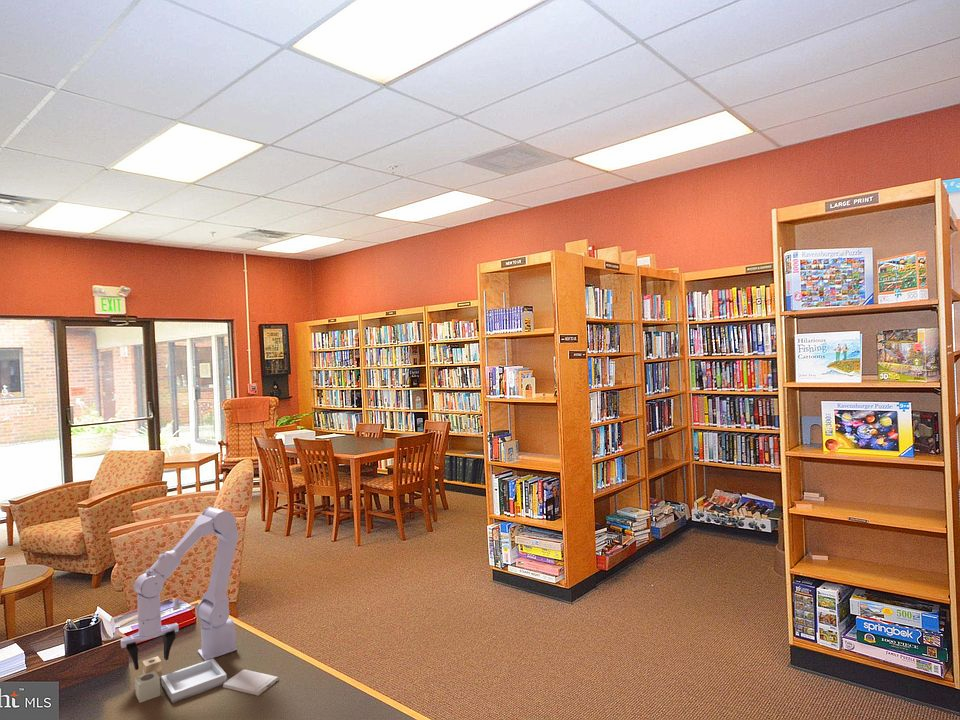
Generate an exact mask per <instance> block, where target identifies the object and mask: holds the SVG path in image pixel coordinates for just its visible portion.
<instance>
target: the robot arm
mask: <svg viewBox="0 0 960 720" xmlns="http://www.w3.org/2000/svg"><path fill="white" fill-rule="evenodd" d="M236 521H237V518H236V517H235V515H234V514H233V513H232V512H231V511H230V510H229V511H228V510H224V509H221V508H217V506H208V507H207V508H205V509H204V510H203V511H202V513H201V514H199V515H198V516H196V519H195V522H194V523H193V524H192V526H191V527H190V528H189V529H188V530H187V532H186V533H185V534H184V535H183V536H182V537H181V538H180V540H179V541H178V542H177V543H176V545H175V546H174V547H173V548H172V549H171V550H168V551H167V550H166V551H165V552H163V553H160V554H159V555H158V556H157V558H158V559H157V560H156V561H155V562H154V563H153V565H151V567H150V568H147V569H146V570H145V572H144V573H143V574H140V575H139V576H138V577H137V578H136V579H135V581H134V584H133V585H132V589H133V592H135V593H136V595H137V597H136V598H137V605H136V606H137V624H138V625H137V626H138V627H137V629H138V631H137V632H135V633H133V634H131V635H128V636H126V637H123V638H120V647H121V649H123V648H126V650H127V652H128V653H129V655H130V657H131V659H132V663H133V667H134V670H135V671H138V670H139V669H140V668H139V660H138V659H139V658H138V655H139V648H138V645H137V643H140V642H144V641H148V640H151V639H155V638H158V637H162V641H163V659H164V660H165V661H168V660H169V656H170V652H171V648H172V645H173V643H174V641H175V640H176V636H177V635H176V633H177V632H179V629H180V628H179V624H178V623H177V622H175V623H171V624H170V623H169V624H165V625H162V615H161V613H162V611H161V595H160V593H161V592H162V591H163V588H164V584H165V582H166V581H167V580H168V579H169V578H170V576H171V575H172V574H174V572H175V571H176V570H177V569H178V567H179V566H180V565H181V564H182V557H183V556H184V555H185V554H186V553H188V551H189V550H190V549H191V548H192V547H193V546H195V544H197V543H198V541H199V540H200V539H202V537H204V536H210V535H214V534H215V536H216V537H217V538H218V543H217V547H216V552H215V555H214V556H215V557H214V561H213V566H212V569H211V574H210V579H209V584H208V588H207V590H206V591H205V593H203V595H202V596H201V600H200V602H199V604H198V605H197V607H196V610H195V612H196V616H197V618H199V619H200V639H201V640H200V641H201V648H200V649H198V650H197V653H198V654H199V655H200V656H201V658H202V660H204V661H207V660H210V659H215V658H218V657H221V656H223V655H226V654H229V653H232V652H235V651H237V650H238V648H237V643H236V641H237V638H236V627H235V623H234V620H233V618H229V617H230V609H229V604H230V599H229V596H228V594H227V590H228V586H229V580H230V576H231V573H232V567H233V561H234V558H235V552H236V548H237V544H238V541H239V540H238V539H239V530H238V527H237V524H236V523H237V522H236Z"/></svg>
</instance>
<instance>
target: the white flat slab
mask: <svg viewBox="0 0 960 720" xmlns="http://www.w3.org/2000/svg"><path fill="white" fill-rule="evenodd" d="M279 680H280V678H279V676H275V675H272V674H267V673H262V672H258V671H254V670H249V669H245V668H244V669H242V670H240V671H239V672H238V673H236V674H234V675H233V676H232V677H230V678H229V679H227V681H226V682H225V683H224V684H223V685H222V688H225V689H228V690H232V691H233V690H234V691H237V692H241V693H246V694H251V695H255V696H260V695H261V694H262V693H263V692H265V691H266V690H268V689H269V688H270V687H271V686H272V685H274V684H275V683H277V682H278V681H279ZM276 681H277V682H276Z"/></svg>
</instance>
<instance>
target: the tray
mask: <svg viewBox="0 0 960 720" xmlns="http://www.w3.org/2000/svg"><path fill="white" fill-rule="evenodd" d="M226 681H228V676H227V673H226V672H225V671H224V669H223V668H222V667H221V666H220V665H219V663H218V662H217V661H216V660H215V658H212V659H209V660H206V661H205V660H204V661H201V662H198V663H196V664H193V665H190V666H186V667H184V668H181V669H178V670H175V671H172V672H169V673H167V674H164V675H163V674H162V676H161V679H160V685H161V686H162V688H163V690H164V691H165V694H166V695H167V696H168V698H169V699H170V701H171V703H172V704H175V703H177V702H180V701H182V700H184V699H188V698H190V697H193V696H195V695H198V694H202V693H204V692H207V691H209V690H212V689H214V688H217V687H220V686H223V684H224V683H225V682H226Z"/></svg>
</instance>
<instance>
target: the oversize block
mask: <svg viewBox="0 0 960 720" xmlns="http://www.w3.org/2000/svg"><path fill="white" fill-rule="evenodd" d="M134 680H135V681H134V684H135V685H134V687H135V696H136V698H137V700H138V703H139V704H141V703H143V702H147V701H149V700H151V699H154V698H158V697H160V696H161V679H160V678H159V676H158V674H157V673H156V671H152V672H149V673H146V674H143V673H142V674H141V675H137V676H135V677H134Z"/></svg>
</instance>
